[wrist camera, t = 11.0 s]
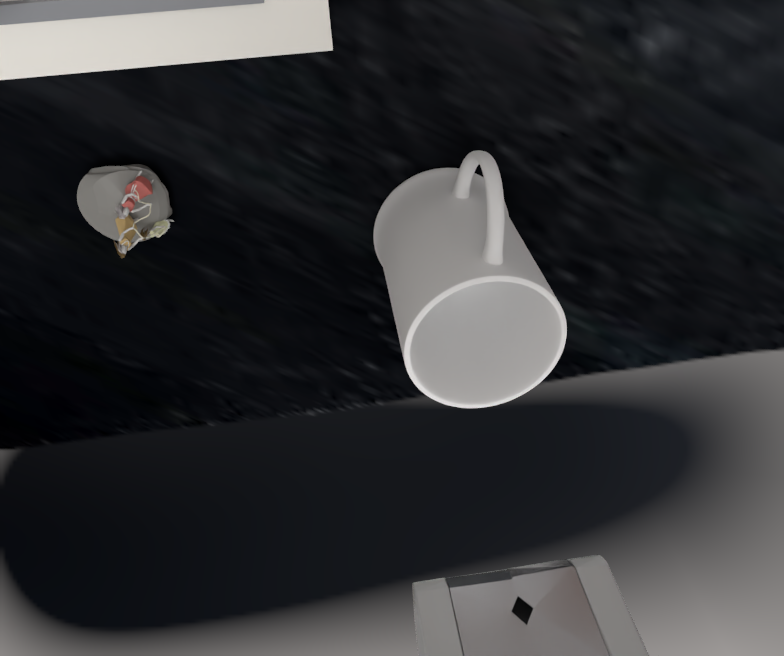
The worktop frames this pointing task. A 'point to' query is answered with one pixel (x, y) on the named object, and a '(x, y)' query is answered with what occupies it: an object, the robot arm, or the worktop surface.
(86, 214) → the figurine
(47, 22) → the gauge board
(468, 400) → the mug
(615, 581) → the robot arm
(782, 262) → the worktop surface
